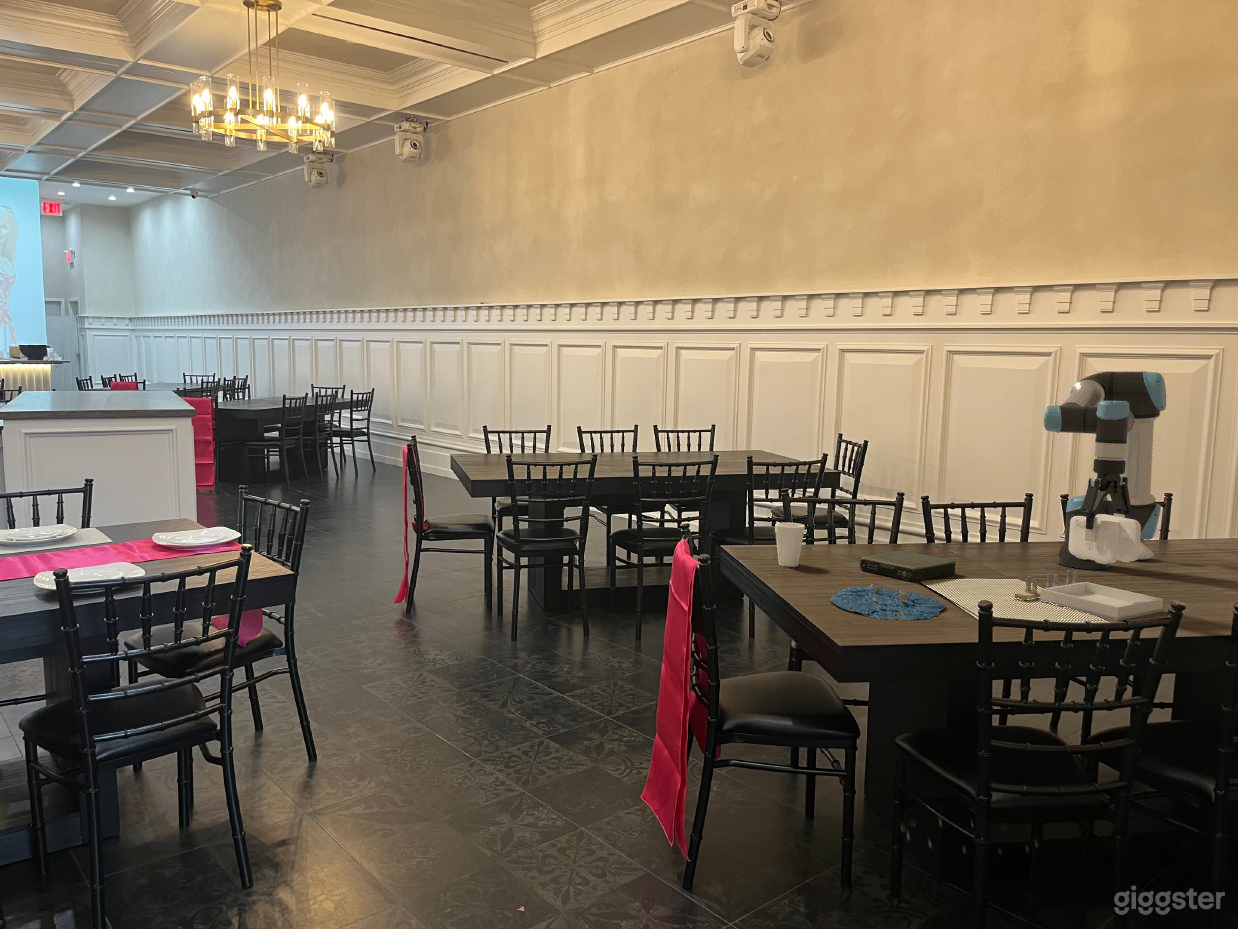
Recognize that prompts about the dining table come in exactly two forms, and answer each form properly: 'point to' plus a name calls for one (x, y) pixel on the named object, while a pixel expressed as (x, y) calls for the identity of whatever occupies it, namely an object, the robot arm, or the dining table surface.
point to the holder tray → (1102, 600)
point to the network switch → (908, 565)
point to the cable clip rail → (1036, 593)
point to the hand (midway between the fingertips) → (1104, 539)
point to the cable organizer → (1106, 539)
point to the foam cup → (789, 543)
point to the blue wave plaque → (887, 603)
